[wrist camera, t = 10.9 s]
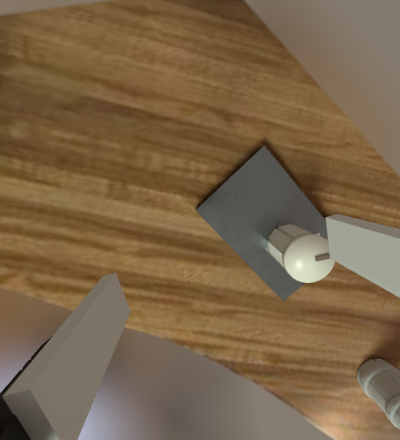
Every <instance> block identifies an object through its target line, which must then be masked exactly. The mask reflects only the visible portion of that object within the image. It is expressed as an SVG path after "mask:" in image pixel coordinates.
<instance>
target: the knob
mask: <svg viewBox="0 0 400 440" xmlns="http://www.w3.org/2000/svg"><path fill="white" fill-rule="evenodd" d="M268 239H269V240H270V241H268V247H269V252H270V253H271V255H272V256H273V257H274V258H275V259H276V260H277V261H278V262H279V263H280V264H281V266H282V267H283V268H284V269H285V270H286V271H287V272H288V273H289V274H290V275H291V276H292V277H293V278H294V279H296V280H298V281H300V282H305V283H310V282H315V281H318V280H320V279H322V278H324V277H325V276H326V275H328V274H329V272H330V271H331V270H332V268H333V266H334V264H335V261H334V260H332V259H331V258H330V253H329V244H328V240H327V239H325V238H323V237H321V236H319V235H316V234H313V233H311V232H308V231H306V230H304V229H302V228H300V227H298V226H296V225H294V224H293V225H292V224H287V225H282V226H278V230H277V229H276V228H275V229H274V231H273V232H272V234H271V235H270V236H269V238H268Z"/></svg>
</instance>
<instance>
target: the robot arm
mask: <svg viewBox="0 0 400 440" xmlns="http://www.w3.org/2000/svg"><path fill="white" fill-rule="evenodd" d="M326 225H327V235H328V244H329V253H330V258H331V259H332V260H334V261H336V262H338V263H340V264H341V265H343V266H345V267H347V268H348V269H350V270H352V271H354V272H355V273H357V274H359V275H361V276H363V277H364V278H366V279H368V280H370V281H371V282H373V283H375V284H377V285H378V286H380V287H382V288H384V289H386V290H387V291H389V292H391V293H393V294H394V295H396V296H398V297H400V229H396V228H392V227H388V226H384V225H380V224H376V223H372V222H368V221H364V220H360V219H356V218H352V217H348V216H343V215H339V214H336V215H332V216H329V217H326ZM129 314H130V309H129V306H128V304H127V301H126V298H125V296H124V293H123V291H122V288H121V286H120V283H119V280H118V278H117V275H116V273H113V274H109V275H105V276H103V277H102V278H101V279H100V280H99V282H98V283H97V284H96V285H95V286H94V288H93V289H92V290H91V291H90V292H89V294H88V295H87V296H86V297H85V298H84V300H83V301H82V302H81V303H80V304H79V306H78V307H77V308H76V309H75V310H74V311H73V313H72V314H71V315H70V316H69V318H68V319H67V320H66V321H65V322H64V324H63V325H62V326H61V327H60V328H59V330H58V331H57V332H56V333H55V334H54V335H53V336H52V337H51V338H50V339H49V340H48V341H46V342H45V343H44V344H43V345H41V347H40V348H39V349H38V350H37V352H35V354H34V355H33V356H32V357H31V359H30V360H29V361H28V362H27V363H26V364H25V365H24V367H23V369H22V370H20V371H19V372H18V374H17V375H16V376H15V377H14V378H13V379H12V380H11V382H10V383H9V384H8V385H7V386H6V387H5V388H4V390H3V391H2V392H1V393H0V440H77V439H78V437H79V434H80V432H81V429H82V427H83V425H84V422H85V420H86V418H87V415H88V413H89V410H90V408H91V405H92V403H93V401H94V398H95V396H96V393H97V391H98V388H99V386H100V383H101V381H102V379H103V377H104V374H105V372H106V369H107V367H108V364H109V362H110V360H111V357H112V355H113V352H114V350H115V348H116V345H117V343H118V340H119V338H120V335H121V333H122V330H123V328H124V326H125V323H126V321H127V319H128V316H129Z"/></svg>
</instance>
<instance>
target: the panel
mask: <svg viewBox="0 0 400 440" xmlns="http://www.w3.org/2000/svg"><path fill="white" fill-rule="evenodd" d="M196 211H197V212H198V213H199V214H200V215H201V216H202V217H203V218H204V219H205V220H206V221H207V223H208V224H209V225H210V226H211V227H212V228H213V229H214V230H215V231H216V232H217V233H218V234H219V235H220V236H221V237H222V238H223V239H224V240H225V241H226V242H227V243H228V244H229V245H230V246H231V247H232V248H233V250H234V251H235V252H236V253H237V254H238V255H239V256H240V257H241V258H242V259H243V260H244V261H245V262H246V263H247V264H248V265H249V266H250V267H251V268H252V269H253V270H254V271H255V272H256V273H257V274H258V276H259V277H260V278H261V279H262V280H263V281H264V282H265V283H266V284H267V285H268V286H269V287H270V288H271V289H272V290H273V291H274V292H275V293H276V294H277V295H278V296H279V297H280V298H281V299H282V300H283V301H284V300H285V299H286V298H288V297H289V296H290V295H291V294H293V293H294V292H295V291H296V290H297V289H299V288H300V287H301V286H302V285H303V284H305V282H300V281H298V280H296V279H294V278H293V277H292V276H291V275H290V274H289V273H288V272H287V271H286V270H285V269H284V268H283V267H282V266H281V264H280V263H279V262H278V261H277V260H276V259H275V258H274V257H273V256H272V255H271V253H270V252H269V247H268V241H270V240H269V239H268V238H269V236H270V235H271V234H272V232H273V231H274V229H275V228H276V229H277V230H278V226H282V225H287V224H292V225H293V224H294V225H296V226H298V227H300V228H302V229H304V230H306V231H308V232H311V233H313V234H316V235H319V236H321V237H323V238H325V239H327V240H328V235H327V225H326V220H325V219H324V218H323V216H322V215H321V214H320V213H319V211H318V210H317V209H316V208H315V207H314V205H313V204H312V203H311V202H310V201H309V199H308V198H307V197H306V196H305V194H304V193H303V192H302V191H301V190H300V188H299V187H298V186H297V185H296V183H295V182H294V181H293V180H292V179H291V177H290V176H289V175H288V174H287V173H286V171H285V170H284V169H283V168H282V166H281V165H280V164H279V163H278V162H277V160H276V159H275V158H274V157H273V155H272V154H271V153H270V152H269V151H268V149H267V148H266V147H265V146H262V147H261V148H260V149H259V150H257V151H256V152H255V153H254V154H253V155H252V156H251V157H250V158H249V159H248V160H247V161H246V162H245V163H244V164H243V165H242V166H241V167H239V168H238V169H237V170H236V171H235V172H234V173H233V174H232V175H231V176H230V177H229V178H228V179H227V180H226V181H225V182H224V183H223V184H222V185H220V186H219V187H218V188H217V189H216V190H215V191H214V192H213V193H212V194H211V195H210V196H209V197H208V198H207V199H206V200H205V201H204V202H202V203H201V204H200V205H199V206H198V207H197V208H196Z"/></svg>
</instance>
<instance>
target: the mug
mask: <svg viewBox="0 0 400 440" xmlns="http://www.w3.org/2000/svg"><path fill="white" fill-rule="evenodd" d="M357 380H358V382H359V384H360V385H361V388H362V389H363V391H364V392H365V393H366V394H367V395H368V396H369V397H371V398H372V399H373V400H374V401H375V402H376V403H377V404H378V405H379V406H380V408H381V409H382V410H383V411H384V412H385V413H386V415H387V417H388V419H389V420H390V421H391V422H392V424H393V425H394V426H396V427H398V428H399V429H400V371H399V370H398V369H397V368H396V367H394V366H393V365H391V364H389V363H388V362H387V361H385V360H382V359H375V360H373V359H371V360H369V361H366V362H365V363H364V364H362V365H361V366H360V368H359V370H358V374H357Z"/></svg>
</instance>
